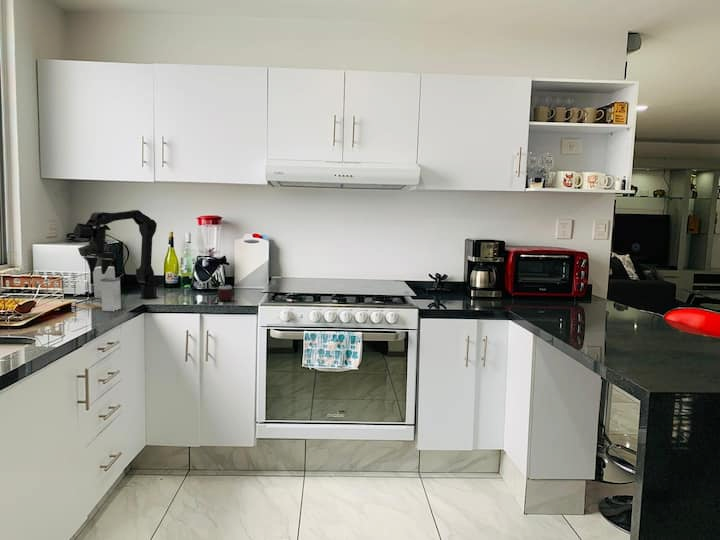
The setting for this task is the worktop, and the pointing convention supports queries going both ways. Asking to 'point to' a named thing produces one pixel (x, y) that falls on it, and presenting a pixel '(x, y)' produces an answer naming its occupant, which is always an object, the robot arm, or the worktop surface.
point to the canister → (110, 294)
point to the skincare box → (98, 275)
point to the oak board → (89, 305)
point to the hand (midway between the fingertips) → (97, 273)
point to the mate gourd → (224, 292)
